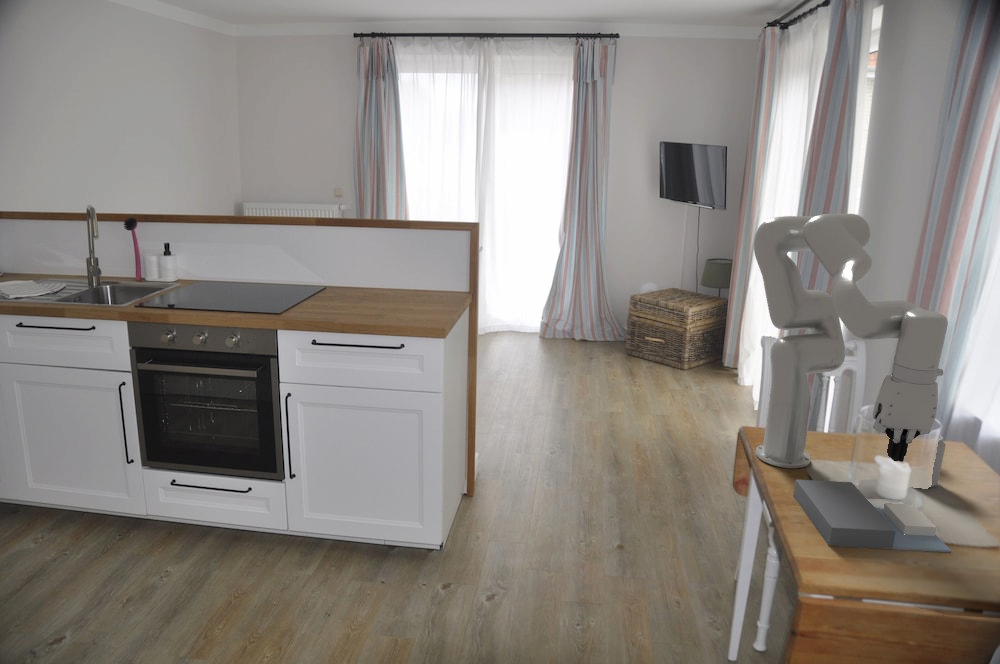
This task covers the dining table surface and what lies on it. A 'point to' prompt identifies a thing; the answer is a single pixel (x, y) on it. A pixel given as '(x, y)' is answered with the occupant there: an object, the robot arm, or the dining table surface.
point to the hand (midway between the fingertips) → (895, 458)
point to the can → (938, 461)
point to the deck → (843, 515)
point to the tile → (909, 519)
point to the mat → (915, 540)
